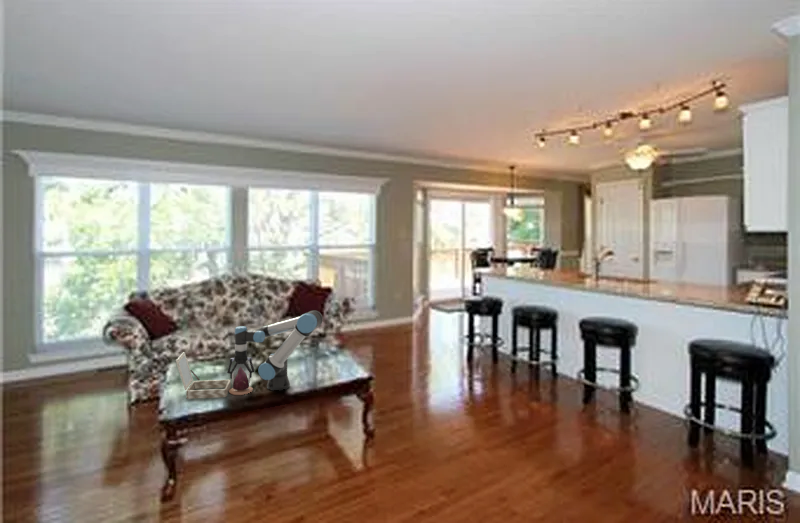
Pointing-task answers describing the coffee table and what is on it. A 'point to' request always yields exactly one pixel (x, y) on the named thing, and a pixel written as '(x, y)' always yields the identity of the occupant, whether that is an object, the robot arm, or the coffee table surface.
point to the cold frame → (208, 384)
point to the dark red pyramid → (241, 380)
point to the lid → (184, 370)
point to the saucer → (240, 391)
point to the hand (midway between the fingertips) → (241, 383)
